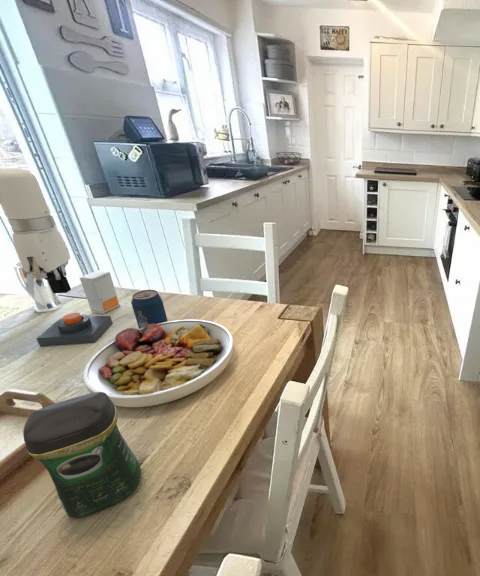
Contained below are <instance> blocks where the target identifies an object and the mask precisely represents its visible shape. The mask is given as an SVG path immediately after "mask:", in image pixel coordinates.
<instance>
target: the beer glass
mask: <svg viewBox="0 0 480 576" xmlns="http://www.w3.org/2000/svg"><path fill="white" fill-rule="evenodd" d="M12 265H13V268H14V269H13V270H14V272H15V276H16V277H17V279H18V282H19V283H20V286H22V288H23V290H24V291H25V292H26V293H27V294H28V296H29V297H30V298H31V300H32V303H33V307H34V311H35V312H36V313H40V312H42V314H43V313H49V311H50V312H54V311H56V310H58V309H61V308H62V306H63V303H62V302H61V300H60V299H59V297H58V296H57V293H53V292H52V290H51V287H50V285H49V283H48V281H47V280H45V279H36V278H35V274H34V272H32V273H26V272H25V271H24V269H23V267H22V265H21V262H20V261H18V262H16V263H14V264H12Z"/></svg>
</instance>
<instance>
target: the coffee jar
mask: <svg viewBox="0 0 480 576" xmlns="http://www.w3.org/2000/svg"><path fill="white" fill-rule="evenodd" d="M117 423H118V410H117V406H115V405H114V404H113V402H112V401H111V400H110V398H109V397H108V395H107V394H106V393H104V392H95V393H90V392H89V393H87V394H83V395H78V396H76V397H75V396H74V397H72V398H68V399H65V400H62V401H59V402H55V403H52V404H50V405H46V406H44V407H41V408H39V409H36V410H33V411H31V413H30V414H29V416H28V417H27V419H26V421H25V424H24V426H23V430H22V432H23V433H22V434H23V435H22V436H23V441H24V443H25V448H26V451H27V453H28V455H29V456H31V457H32V458H33V459H35V460H37V461H38V462H40V463H41V464H42V465H43V466H44V467H45V469H46V470H47V472H48V474H49V476H50V478H51V480H52V482H53V485H54V487H55V491H56V493H57V496H58V498H59V502H60V504H61V506H62V508H63V510H64V512H65V514H66V516H68V517H70V518H74V519H79V518H83V517H86V516H89V515H92V514H95V513H98V512H100V511H103V510H104V509H107V508H109V507H112V506H113V505H116V504H117V503H119V502H121V501H124V500H125V499H127V498H128V497H130V496H131V495H132V494H133V493H134V492H135V491H136V489H137V488H138V487H139V484H140V482H141V476H142V475H141V474H142V470H141V464H140V463H139V460H138V459H137V457H136V455H135V454H134V452H133V450H132V449H131V448H130V446H129V445H128V443H127V442H126V440H125V438H124V437H123V435H122V434H121V432H120V430H119V428H118V425H117Z"/></svg>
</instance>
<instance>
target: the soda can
mask: <svg viewBox="0 0 480 576" xmlns="http://www.w3.org/2000/svg"><path fill="white" fill-rule="evenodd" d="M131 298H132V299H131V302H130V303H131V307H132V310H133V314H134V317H135V320H136V323H137V327H138V329H141V328H144V327H146V326H147V325H148V324H152V323H153V324H159V323H163V322H169V321H168V316H167V313H166V312H167V311H166V309H165V306H164V302H163V301H164V300H163V298H162V296H161V295H160V294H159V292H158V290H156V289H143V290H140V291H137V292H135V293H134V294H132V296H131Z"/></svg>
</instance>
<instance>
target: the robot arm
mask: <svg viewBox="0 0 480 576" xmlns="http://www.w3.org/2000/svg"><path fill="white" fill-rule="evenodd" d="M0 207H1V209H2V211H3V213H4V215H5V217H6V220H7V223H8V224H9V226H10V228H11V231H12V232H13V233H11V235H12V240H13V244H14V249H15V252H16V254H17V258H18V260H19V262H21V265H22V267H23V269H24V271H25V272H26V273H32V272H34V274H35V278H36V279H45V280H47V281H48V283H49V285H50V287H51V290H52V292H53V293H56V294H67V293H69V292H70V291H71V290H72V288H71V286H70V284H69V281H68V278H67V271H66V267H67V265H68V264H69V261H70V259H71V254H70V251H69V248H68V246H67V244H66V242H65V239H64V238H63V236H62V233H61V232H60V231H59V228H58V226H57V224H56V221H55V219H54V215H53V214H52V211H51V209H50V206H49V203H48V200H47V198H46V196H45V193H44V191H43V188H42V186H41V184H40V181H39V178H38V176H37V174H36V173H35V172H34V171H33V170H31V169H28V168H22V167H21V168H20V167H19V168H18V167H10V168H8V167H7V168H2V167H0Z"/></svg>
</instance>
